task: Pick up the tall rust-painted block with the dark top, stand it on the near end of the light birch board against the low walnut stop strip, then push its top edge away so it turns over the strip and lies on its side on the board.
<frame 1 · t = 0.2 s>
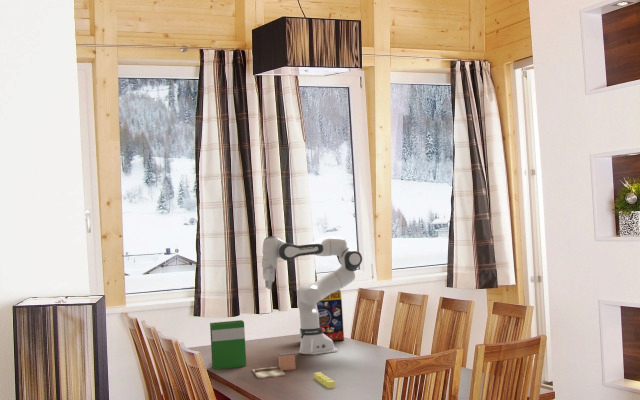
hand: (268, 288, 436), 39 cm above the table, tool pointing down, fingers open, 8 cm apart
cereal box: (322, 341, 477), on the table
board: (268, 373, 388), on the table
yellow segmented bar: (327, 383, 360), on the table
hardback book: (229, 366, 412), on the table
block: (287, 369, 397), on the table
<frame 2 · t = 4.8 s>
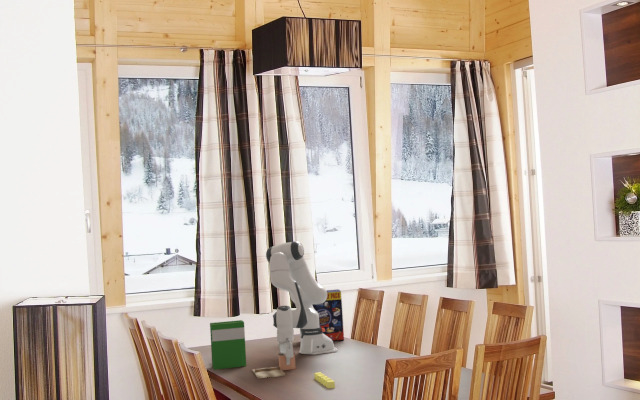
hand: (287, 363, 397), 3 cm above the table, tool pointing down, fingers closed on block, 4 cm apart
block: (287, 368, 397), on the table, touching gripper
everything else where it was.
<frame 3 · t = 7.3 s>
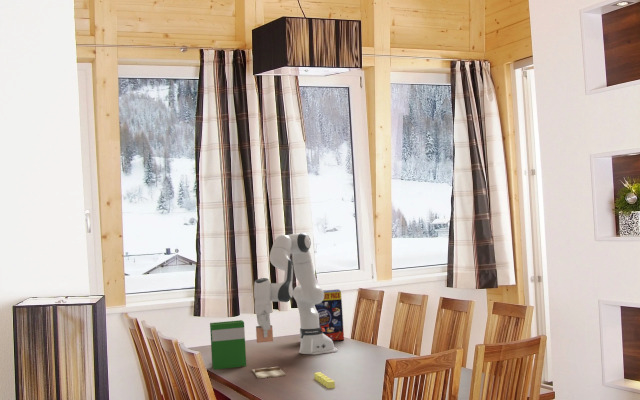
hand: (264, 336, 394), 18 cm above the table, tool pointing down, fingers closed on block, 4 cm apart
block: (264, 341, 394), point 15 cm above the table, touching gripper
everything else where it was.
when the fingers open (5 cm above the table, at t = 9.9 s): block drops 1 cm, resting on board.
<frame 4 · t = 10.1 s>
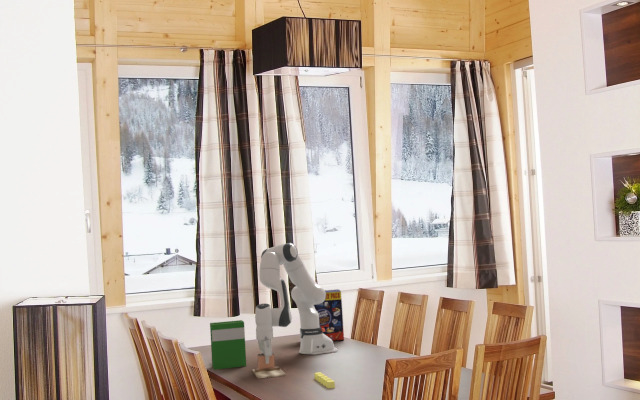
hand: (266, 362, 394), 5 cm above the table, tool pointing down, fingers open, 5 cm apart
block: (266, 369, 394), point 1 cm above the table, touching board
everything else where it was.
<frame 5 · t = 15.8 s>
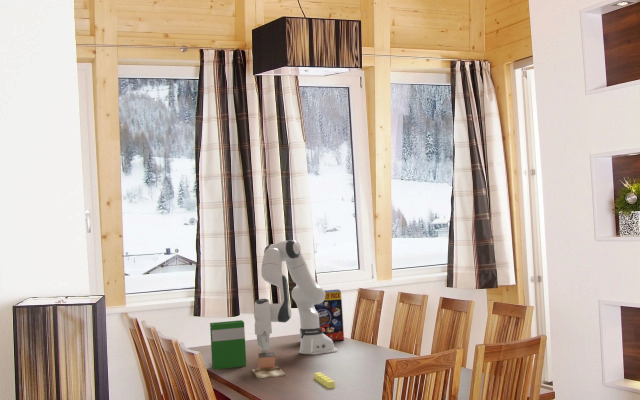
hand: (264, 356, 396), 7 cm above the table, tool pointing down, fingers closed
block: (266, 368, 394), point 1 cm above the table, tilted 19°, touching board
everything else where it was.
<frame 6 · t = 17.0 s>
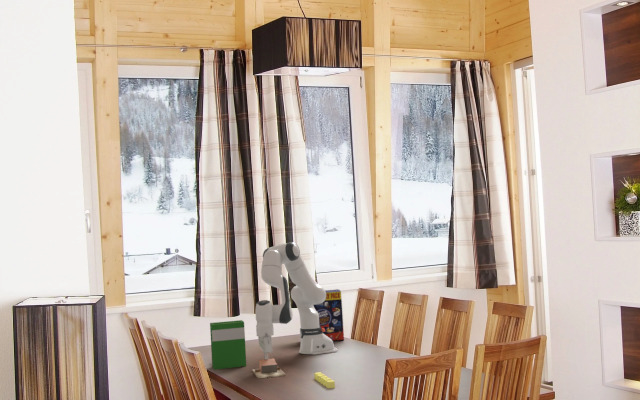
hand: (266, 358, 392), 7 cm above the table, tool pointing down, fingers closed
block: (266, 362, 393), point 5 cm above the table, tilted 104°, touching board, gripper
everything else where it was.
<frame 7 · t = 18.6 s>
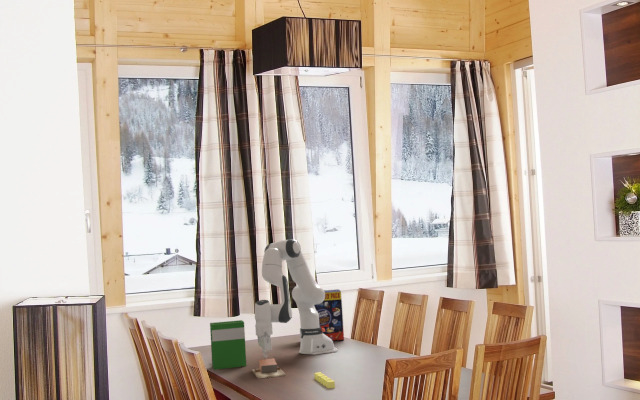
hand: (265, 357, 399), 6 cm above the table, tool pointing down, fingers closed
block: (266, 362, 393), point 5 cm above the table, tilted 104°, touching board
everything else where it was.
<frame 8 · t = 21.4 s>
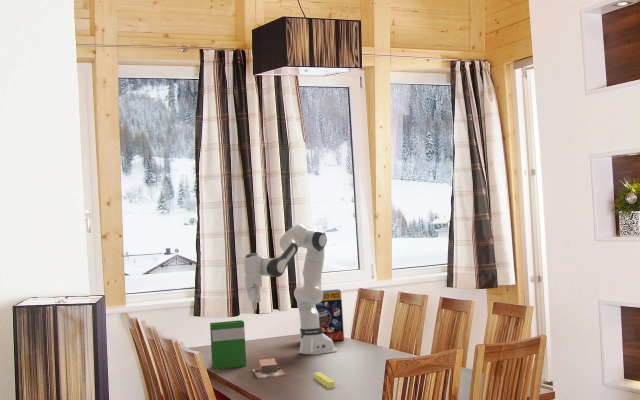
hand: (254, 309, 404), 31 cm above the table, tool pointing down, fingers closed
nothing on the table moved.
at the end: block tilted 104°; block inside the target area (6.9 cm from its centre), point 4.7 cm above the table; the gripper is holding nothing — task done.
